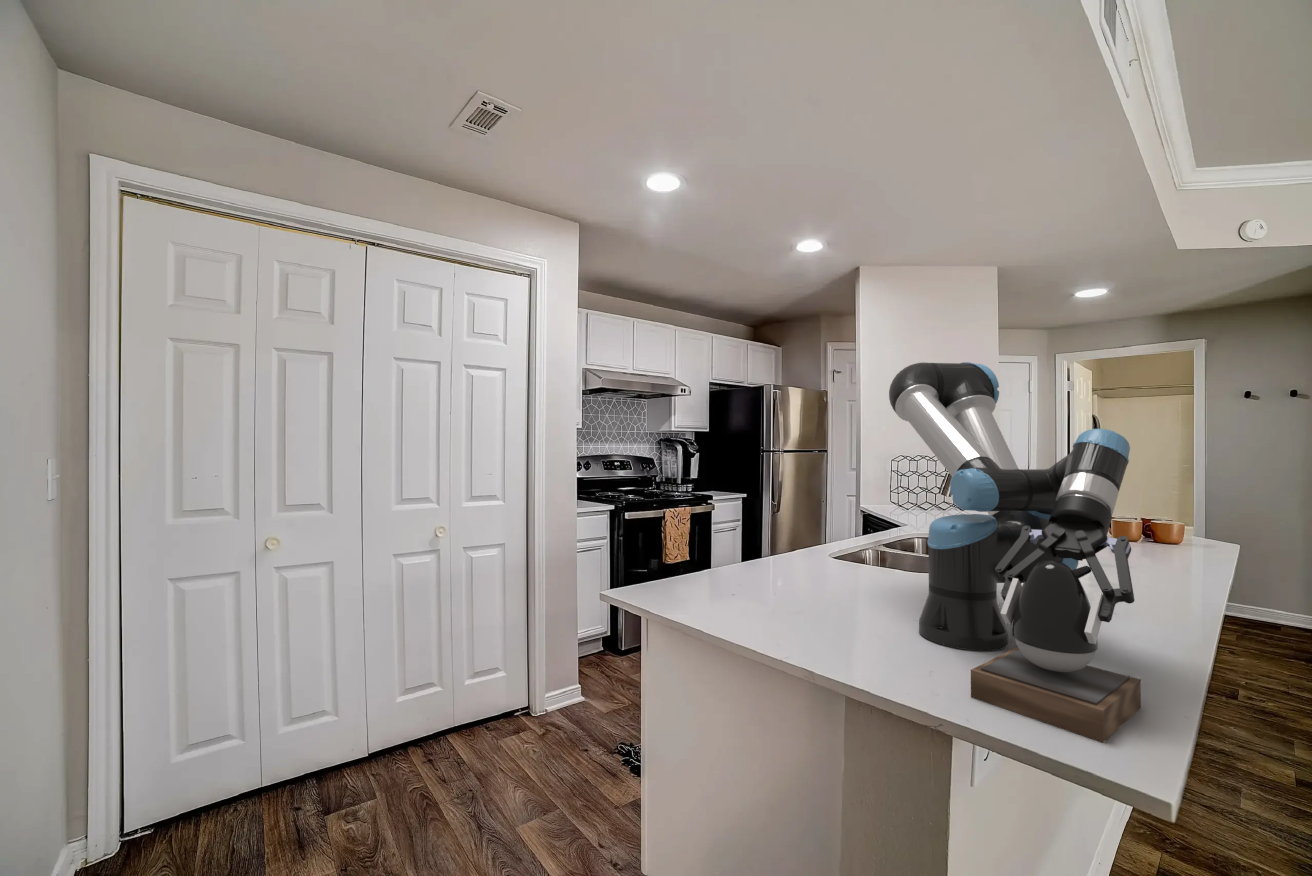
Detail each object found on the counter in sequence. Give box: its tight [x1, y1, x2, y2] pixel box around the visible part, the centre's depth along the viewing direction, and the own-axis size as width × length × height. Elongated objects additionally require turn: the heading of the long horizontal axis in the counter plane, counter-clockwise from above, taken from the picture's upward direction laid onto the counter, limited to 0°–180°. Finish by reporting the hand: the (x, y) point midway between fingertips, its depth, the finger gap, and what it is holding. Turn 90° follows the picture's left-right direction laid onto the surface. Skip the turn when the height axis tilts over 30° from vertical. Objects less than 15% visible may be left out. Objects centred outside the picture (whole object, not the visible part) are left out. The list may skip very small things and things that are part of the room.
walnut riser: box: [970, 646, 1142, 743], centre depth 83 cm, size 16×16×4 cm
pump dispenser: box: [1011, 560, 1099, 672], centre depth 83 cm, size 10×10×15 cm
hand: (1045, 628), depth 81 cm, fingers closed on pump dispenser, 10 cm apart
